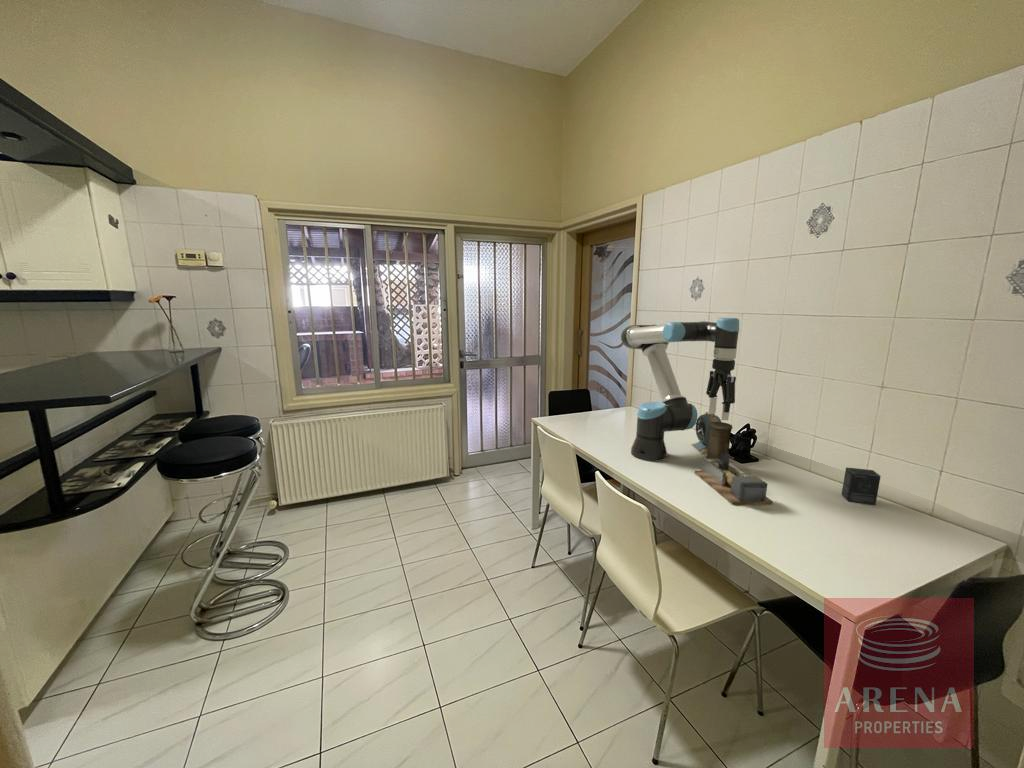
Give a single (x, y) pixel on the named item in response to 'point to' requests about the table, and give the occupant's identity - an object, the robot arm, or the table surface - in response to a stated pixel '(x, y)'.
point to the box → (860, 485)
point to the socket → (748, 488)
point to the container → (718, 439)
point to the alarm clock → (704, 431)
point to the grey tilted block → (719, 470)
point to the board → (726, 490)
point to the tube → (725, 466)
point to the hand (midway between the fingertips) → (717, 416)
